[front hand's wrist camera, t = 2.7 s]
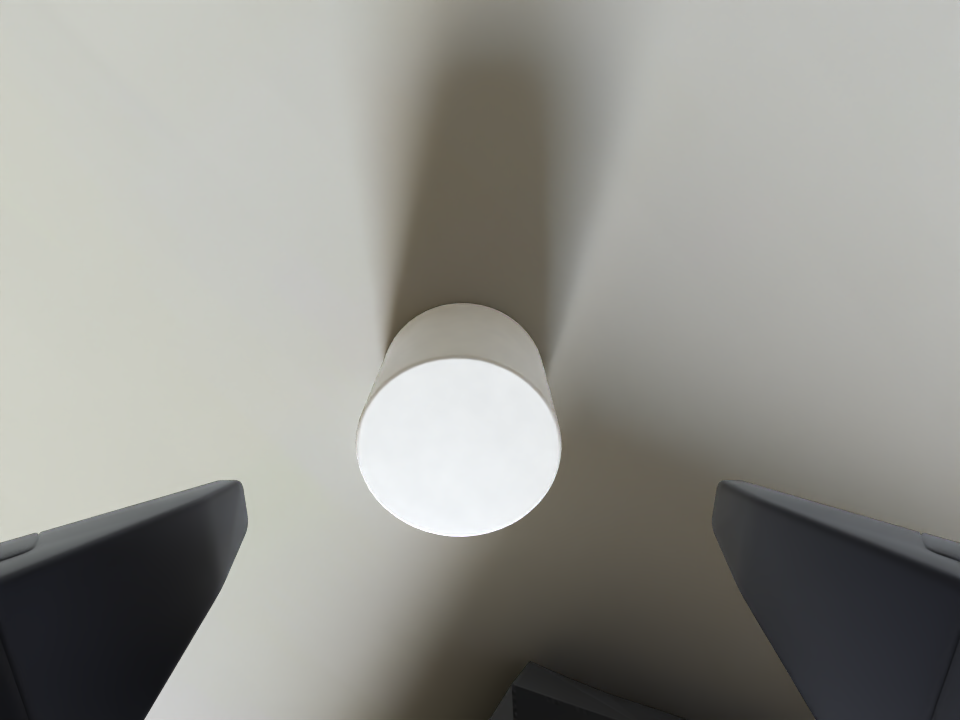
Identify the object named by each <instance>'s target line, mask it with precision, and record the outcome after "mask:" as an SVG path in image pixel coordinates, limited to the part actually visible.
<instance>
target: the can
mask: <svg viewBox="0 0 960 720" xmlns="http://www.w3.org/2000/svg"><path fill="white" fill-rule="evenodd" d="M561 449H562V443H561V432H560V428H559V423H558V419H557V416H556V412H555V408H554V404H553V401H552V397H551V393H550V389H549V386H548V382H547V378H546V374H545V371H544V367H543V363H542V359H541V356H540V354H539V351H538V349H537V347H536V345H535V343H534V341H533V340H532V338H531V337H530V336H529V334H528V333H527V332H526V331H525V330H524V329H523V328H522V327H521V326H520V324H518V323H517V322H516V321H514V320H513V319H512V318H511V317H509V316H507V315H505V314H504V313H502V312H500V311H498V310H495V309H493V308H490V307H486V306H483V305H478V304H471V303H454V304H447V305H442V306H438V307H435V308H432V309H430V310H427V311H425V312H423V313H422V314H420V315H418V316H416V317H415V318H414V319H412V320H411V321H409V322H408V323H407V324H406V325H405V326H404V327H403V328H402V329H401V330H400V331H399V333H398V334H397V335H396V336H395V338H394V339H393V341H392V343H391V344H390V346H389V349H388V351H387V353H386V356H385V358H384V361H383V363H382V366H381V368H380V370H379V373H378V375H377V378H376V380H375V383H374V385H373V387H372V390H371V392H370V395H369V397H368V399H367V402H366V404H365V407H364V409H363V412H362V414H361V417H360V419H359V423H358V427H357V434H356V455H357V459H358V464H359V468H360V470H361V473H362V476H363V478H364V480H365V482H366V484H367V486H368V488H369V489H370V491H371V492H372V494H373V495H374V496H375V498H376V499H377V500H378V501H379V502H380V503H381V504H382V505H383V507H384V508H386V509H387V510H388V511H389V512H390V513H392V514H393V515H394V516H396V517H397V518H399V519H400V520H402V521H403V522H405V523H407V524H409V525H411V526H413V527H415V528H418V529H421V530H423V531H426V532H430V533H434V534H438V535H445V536H475V535H481V534H486V533H490V532H493V531H496V530H499V529H502V528H504V527H506V526H508V525H511V524H513V523H514V522H516V521H517V520H519V519H521V518H522V517H524V516H525V515H526V514H527V513H529V512H530V511H531V510H532V509H533V508H534V507H535V506H536V505H537V504H538V503H539V502H540V501H541V500H542V498H543V497H544V496H545V494H546V493H547V492H548V490H549V488H550V487H551V485H552V483H553V481H554V479H555V476H556V474H557V471H558V468H559V464H560V459H561Z"/></svg>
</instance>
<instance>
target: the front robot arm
mask: <svg viewBox="0 0 960 720" xmlns="http://www.w3.org/2000/svg"><path fill="white" fill-rule="evenodd" d="M247 526H248V516H247V509H246V503H245V497H244V490H243V486H242V484H241V482H239V481H237V480H220V481H215V482H212V483H208V484H205V485H201V486H198V487H194V488H191V489H188V490H184V491H181V492H177V493H174V494H170V495H167V496H163V497H160V498H156V499H153V500H150V501H146V502H143V503H139V504H136V505H132V506H129V507H125V508H122V509H119V510H115V511H112V512H108V513H105V514H101V515H98V516H94V517H91V518H87V519H84V520H81V521H77V522H74V523H70V524H67V525H63V526H60V527H56V528H53V529H50V530H46V531H43V532H41V533H40V534H39V535H38V534H37V533H33V534H30V535H26V536H23V537H19V538H16V539H12V540H9V541H5V542H1V543H0V720H144V719H145V717H146V716H147V714H148V712H149V711H150V709H151V707H152V706H153V704H154V702H155V701H156V699H157V697H158V695H159V694H160V692H161V690H162V689H163V687H164V685H165V684H166V682H167V680H168V679H169V677H170V675H171V674H172V672H173V670H174V669H175V667H176V665H177V663H178V662H179V660H180V658H181V657H182V655H183V653H184V652H185V650H186V648H187V647H188V645H189V643H190V642H191V640H192V638H193V637H194V635H195V633H196V632H197V630H198V628H199V626H200V625H201V623H202V621H203V620H204V618H205V616H206V615H207V613H208V611H209V610H210V608H211V606H212V605H213V603H214V601H215V599H216V598H217V596H218V594H219V592H220V590H221V588H222V586H223V584H224V582H225V580H226V578H227V575H228V573H229V571H230V569H231V566H232V564H233V562H234V559H235V557H236V555H237V552H238V550H239V548H240V545H241V543H242V541H243V539H244V536H245V534H246V531H247ZM712 526H713V531H714V534H715V536H716V539H717V541H718V543H719V545H720V548H721V550H722V552H723V555H724V557H725V559H726V562H727V564H728V566H729V569H730V571H731V573H732V575H733V578H734V580H735V582H736V584H737V586H738V588H739V591H740V592H741V594H742V596H743V598H744V599H745V601H746V603H747V605H748V606H749V608H750V610H751V611H752V613H753V615H754V616H755V618H756V620H757V621H758V623H759V625H760V626H761V628H762V630H763V632H764V633H765V635H766V637H767V638H768V640H769V642H770V643H771V645H772V647H773V648H774V650H775V652H776V653H777V655H778V657H779V658H780V660H781V662H782V664H783V665H784V667H785V669H786V670H787V672H788V674H789V675H790V677H791V679H792V680H793V682H794V684H795V685H796V687H797V689H798V690H799V692H800V694H801V695H802V697H803V699H804V701H805V702H806V704H807V706H808V707H809V709H810V711H811V712H812V714H813V716H814V717H815V719H816V720H960V543H959V542H955V541H951V540H948V539H944V538H941V537H937V536H934V535H930V534H927V533H923V534H922V535H921V534H920V533H919V532H917V531H914V530H910V529H907V528H904V527H900V526H897V525H893V524H890V523H886V522H883V521H879V520H876V519H872V518H869V517H866V516H862V515H859V514H855V513H852V512H848V511H845V510H841V509H838V508H835V507H831V506H828V505H824V504H821V503H817V502H814V501H810V500H807V499H804V498H800V497H797V496H793V495H790V494H786V493H783V492H779V491H776V490H772V489H769V488H766V487H762V486H759V485H755V484H752V483H748V482H745V481H740V480H723V481H721V482H719V484H718V486H717V490H716V496H715V503H714V509H713V516H712Z"/></svg>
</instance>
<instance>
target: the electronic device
mask: <svg viewBox="0 0 960 720" xmlns="http://www.w3.org/2000/svg"><path fill="white" fill-rule="evenodd" d="M489 720H687V719H684V718H680V717H677V716H674V715H671V714H668V713H665V712H662V711H659V710H656V709H653V708H650V707H647V706H644V705H641V704H638V703H635V702H632V701H629V700H626V699H623V698H620V697H617V696H614V695H611V694H608V693H605V692H602V691H600V690H597V689H595V688H592V687H590V686H587V685H585V684H583V683H580V682H578V681H575V680H573V679H570V678H568V677H565V676H563V675H560V674H558V673H556V672H554V671H551V670H549V669H547V668H545V667H542V666H540V665H538V664H536V663H533V662H531V661H530V662H529V663H528V664H527V665H526V667H525V668H524V669H523V670H522V672H521V673H520V674H519V676H518V677H517V678H516V679H515V681H514V682H513V683H512V684H511V686H510V688H509V689H508V691H507V692H506V694H505V695H504V697H503V699H502V700H501V702H500V703H499V705H498V707H497V708H496V710H495V711H494V713H493V715H492V716H491V718H490V719H489Z"/></svg>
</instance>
